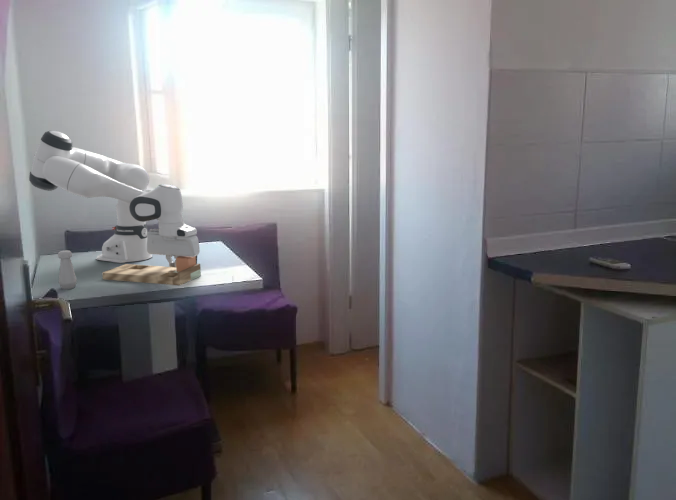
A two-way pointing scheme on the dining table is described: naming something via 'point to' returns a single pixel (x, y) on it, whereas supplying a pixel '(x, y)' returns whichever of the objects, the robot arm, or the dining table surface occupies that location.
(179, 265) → the block
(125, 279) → the trap box
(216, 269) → the dining table surface
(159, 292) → the dining table surface
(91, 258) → the dining table surface
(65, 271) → the salt shaker
